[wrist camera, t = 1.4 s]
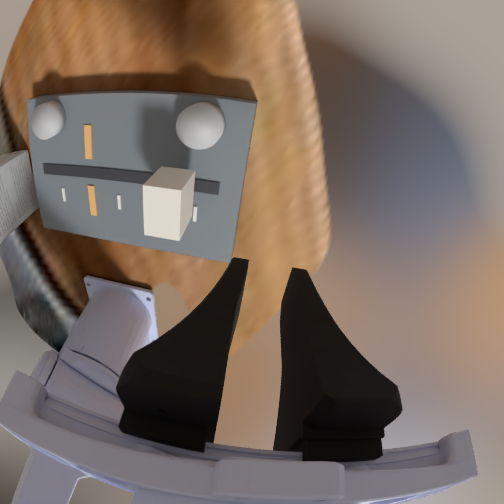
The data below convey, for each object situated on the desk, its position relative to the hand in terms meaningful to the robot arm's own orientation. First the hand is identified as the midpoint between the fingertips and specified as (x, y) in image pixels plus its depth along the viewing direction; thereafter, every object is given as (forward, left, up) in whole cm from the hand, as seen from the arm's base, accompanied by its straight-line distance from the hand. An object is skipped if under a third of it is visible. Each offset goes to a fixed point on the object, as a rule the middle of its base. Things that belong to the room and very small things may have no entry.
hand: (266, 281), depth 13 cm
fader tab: (0, +6, -8) cm, 10 cm away
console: (0, +11, -10) cm, 15 cm away
